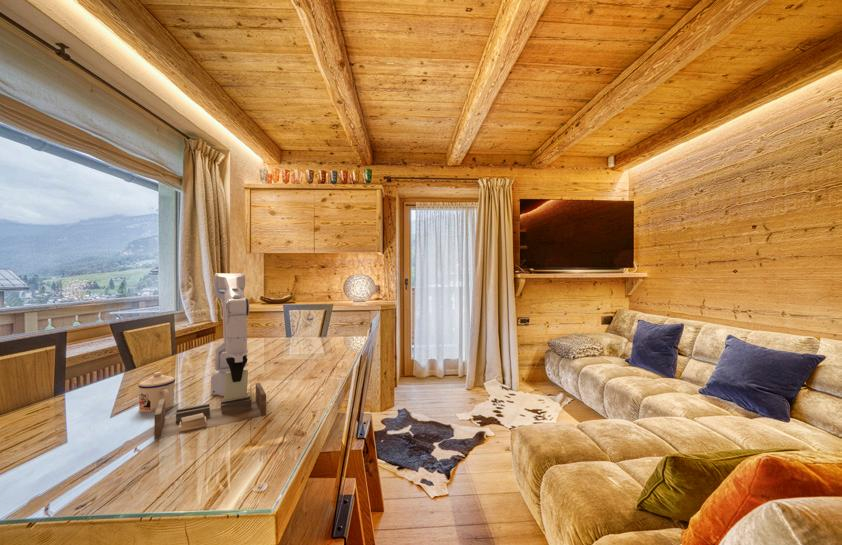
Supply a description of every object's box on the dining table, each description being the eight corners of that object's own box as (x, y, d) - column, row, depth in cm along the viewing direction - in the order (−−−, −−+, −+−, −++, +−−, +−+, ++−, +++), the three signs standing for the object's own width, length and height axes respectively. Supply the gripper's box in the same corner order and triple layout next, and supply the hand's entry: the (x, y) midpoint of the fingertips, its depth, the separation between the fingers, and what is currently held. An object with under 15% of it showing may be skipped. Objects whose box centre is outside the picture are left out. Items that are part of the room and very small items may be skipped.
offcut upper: (181, 422, 90) (181, 417, 90) (202, 417, 93) (202, 412, 93) (182, 426, 88) (182, 422, 88) (204, 421, 91) (204, 416, 91)
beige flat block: (224, 398, 101) (225, 372, 102) (246, 395, 105) (247, 369, 105) (224, 399, 100) (225, 373, 100) (246, 396, 103) (248, 370, 104)
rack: (159, 422, 95) (160, 398, 95) (259, 403, 109) (259, 382, 109) (154, 443, 83) (154, 415, 83) (266, 418, 98) (266, 394, 98)
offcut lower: (179, 426, 90) (179, 421, 90) (205, 420, 94) (205, 416, 94) (179, 431, 87) (179, 427, 87) (206, 426, 90) (206, 421, 90)
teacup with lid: (133, 411, 103) (133, 374, 103) (167, 402, 111) (167, 367, 111) (149, 420, 96) (149, 380, 97) (184, 409, 104) (184, 372, 104)
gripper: (220, 334, 106) (220, 377, 106) (223, 342, 94) (222, 389, 94) (245, 332, 110) (244, 373, 110) (250, 339, 98) (250, 385, 98)
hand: (236, 380), depth 102 cm, fingers closed on beige flat block, 1 cm apart
